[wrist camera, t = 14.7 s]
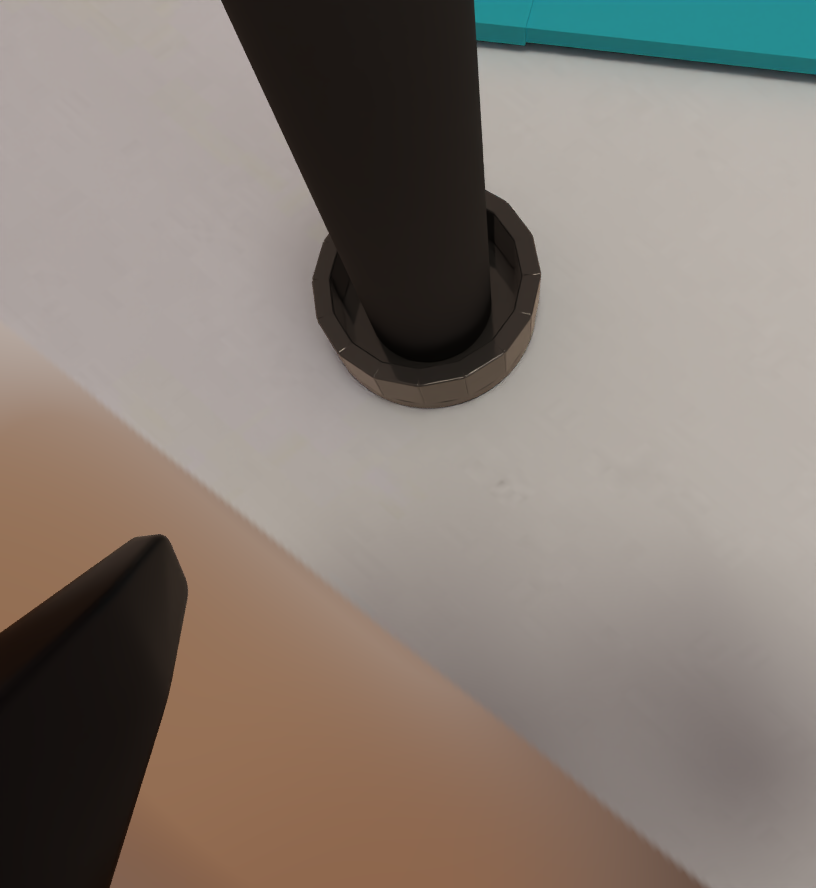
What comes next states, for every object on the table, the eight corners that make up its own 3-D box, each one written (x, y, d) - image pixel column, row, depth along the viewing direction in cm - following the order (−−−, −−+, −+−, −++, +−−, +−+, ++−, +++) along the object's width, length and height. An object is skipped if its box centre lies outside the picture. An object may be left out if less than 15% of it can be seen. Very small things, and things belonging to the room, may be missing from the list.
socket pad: (396, 448, 24) (384, 428, 21) (296, 287, 26) (274, 252, 23) (578, 335, 24) (585, 303, 21) (464, 183, 26) (459, 138, 24)
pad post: (499, 353, 23) (447, -863, 4) (374, 370, 24) (-174, -657, 5) (483, 240, 25) (388, -1131, 5) (365, 259, 25) (-114, -943, 6)
